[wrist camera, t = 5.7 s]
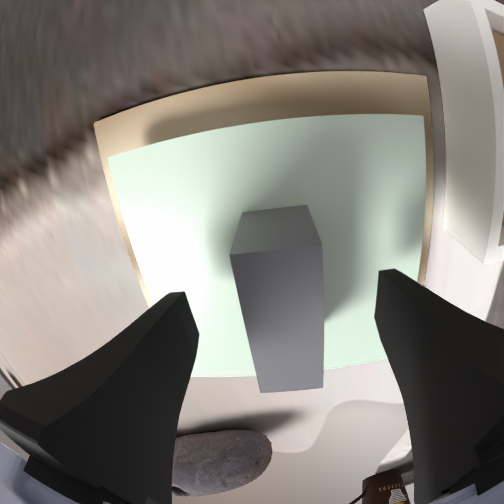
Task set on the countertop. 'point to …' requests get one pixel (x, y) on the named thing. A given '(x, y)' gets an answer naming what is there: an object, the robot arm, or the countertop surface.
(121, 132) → the mat
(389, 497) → the coffee mug
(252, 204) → the lid
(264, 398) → the countertop surface
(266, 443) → the perforated stone tool
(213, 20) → the countertop surface
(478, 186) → the box
